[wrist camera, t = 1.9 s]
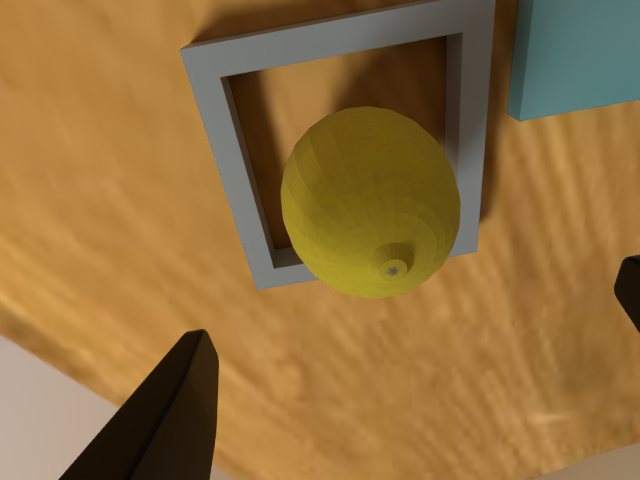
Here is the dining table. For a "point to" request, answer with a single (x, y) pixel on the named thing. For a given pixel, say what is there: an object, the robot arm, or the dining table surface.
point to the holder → (332, 40)
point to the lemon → (370, 202)
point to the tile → (574, 56)
